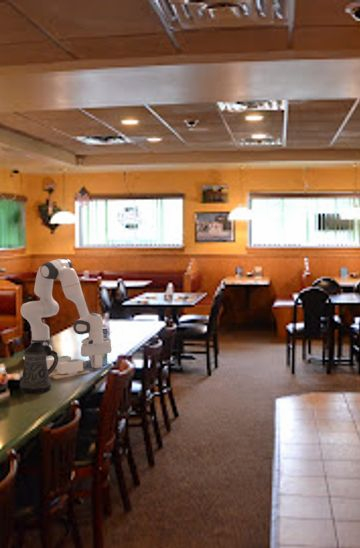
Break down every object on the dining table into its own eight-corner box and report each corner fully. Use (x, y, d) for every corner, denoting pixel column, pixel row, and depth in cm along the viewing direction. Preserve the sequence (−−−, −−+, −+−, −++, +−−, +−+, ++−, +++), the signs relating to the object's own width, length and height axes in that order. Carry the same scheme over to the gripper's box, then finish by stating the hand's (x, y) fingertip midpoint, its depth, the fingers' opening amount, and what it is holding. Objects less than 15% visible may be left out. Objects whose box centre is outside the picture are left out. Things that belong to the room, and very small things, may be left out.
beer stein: (13, 390, 335) (12, 343, 333) (45, 383, 349) (44, 338, 347) (30, 395, 323) (29, 347, 321) (62, 388, 337) (61, 342, 335)
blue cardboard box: (89, 359, 409) (88, 324, 407) (96, 359, 411) (95, 324, 410) (100, 365, 392) (99, 329, 390) (108, 364, 394) (107, 328, 393)
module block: (91, 366, 388) (90, 353, 388) (98, 365, 392) (97, 352, 391) (95, 368, 385) (95, 354, 384) (102, 366, 388) (102, 353, 387)
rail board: (39, 373, 374) (39, 359, 373) (72, 367, 387) (72, 353, 387) (55, 379, 358) (55, 364, 358) (89, 372, 372) (89, 358, 371)
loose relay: (75, 367, 388) (75, 362, 388) (82, 365, 393) (82, 361, 392) (79, 368, 386) (79, 363, 385) (86, 366, 390) (86, 361, 390)
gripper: (107, 336, 396) (108, 358, 397) (79, 341, 383) (79, 363, 384) (113, 338, 391) (113, 360, 392) (84, 342, 378) (85, 365, 379)
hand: (96, 361), depth 388 cm, fingers closed on module block, 5 cm apart
